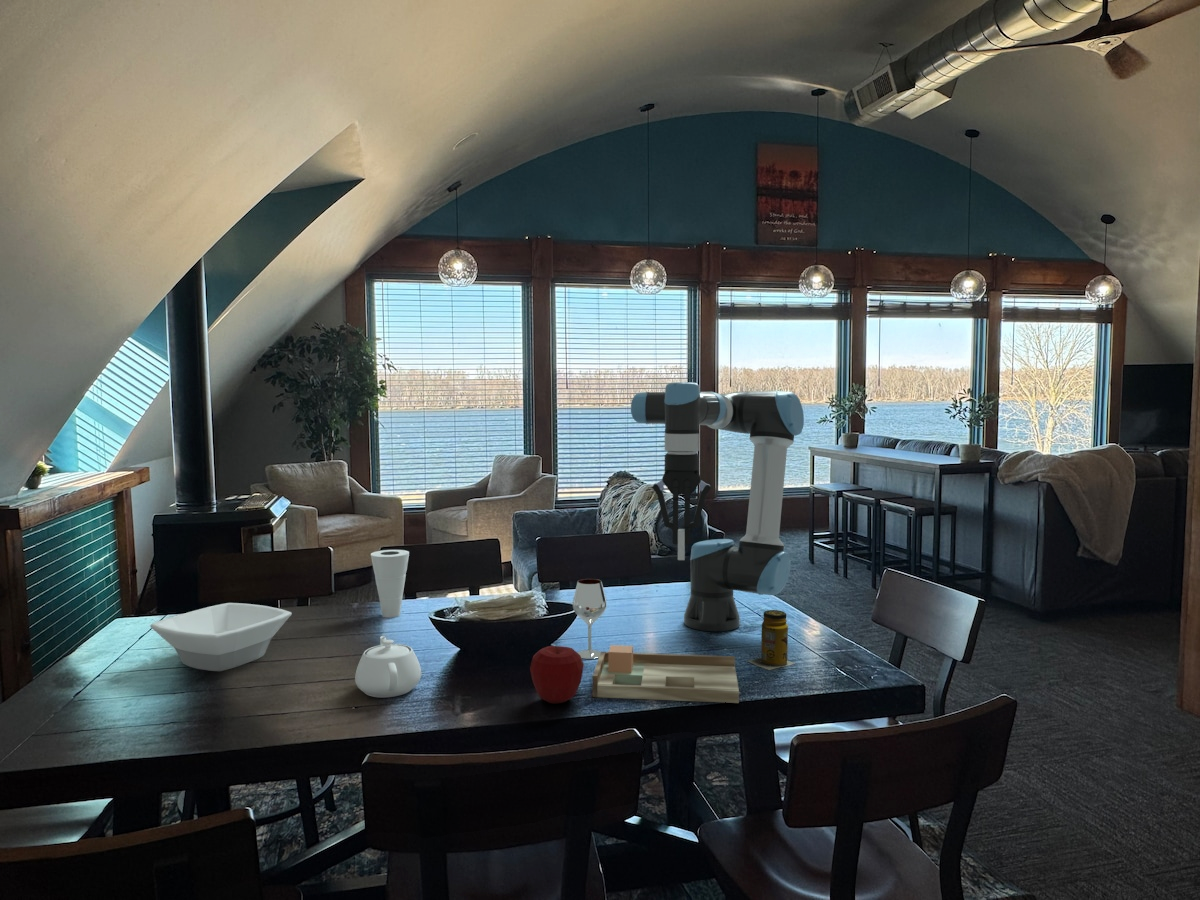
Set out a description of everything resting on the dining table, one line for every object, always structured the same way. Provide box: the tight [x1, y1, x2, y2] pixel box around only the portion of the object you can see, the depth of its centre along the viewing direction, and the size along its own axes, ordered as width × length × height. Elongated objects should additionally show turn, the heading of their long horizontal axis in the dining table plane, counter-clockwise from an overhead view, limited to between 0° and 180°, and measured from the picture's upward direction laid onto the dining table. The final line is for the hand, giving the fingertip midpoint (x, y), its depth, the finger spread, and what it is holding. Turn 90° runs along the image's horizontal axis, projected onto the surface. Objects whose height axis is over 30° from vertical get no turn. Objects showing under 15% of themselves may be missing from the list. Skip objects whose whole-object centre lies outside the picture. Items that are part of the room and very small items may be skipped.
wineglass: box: [572, 578, 608, 660], centre depth 192 cm, size 8×8×18 cm
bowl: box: [150, 602, 292, 672], centre depth 190 cm, size 24×25×10 cm
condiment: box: [747, 609, 796, 671], centre depth 187 cm, size 7×8×12 cm
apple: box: [529, 645, 585, 705], centre depth 163 cm, size 11×11×12 cm
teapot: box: [354, 635, 422, 699], centre depth 170 cm, size 22×14×11 cm, turn 21°
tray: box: [592, 651, 740, 704], centre depth 172 cm, size 16×30×4 cm, turn 84°
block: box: [607, 644, 634, 673], centre depth 176 cm, size 5×5×4 cm
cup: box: [370, 549, 410, 619], centre depth 228 cm, size 11×11×18 cm
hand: (681, 558), depth 177 cm, fingers closed
